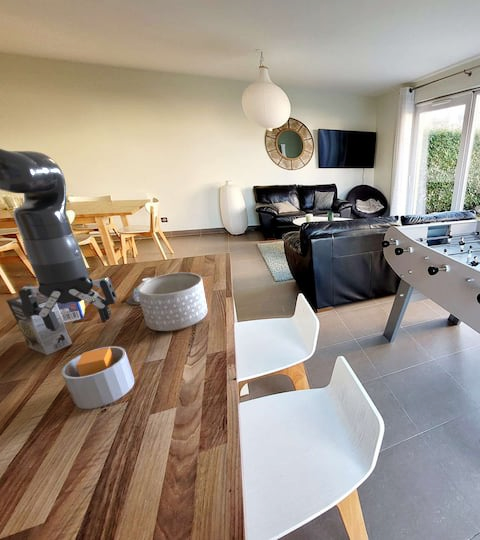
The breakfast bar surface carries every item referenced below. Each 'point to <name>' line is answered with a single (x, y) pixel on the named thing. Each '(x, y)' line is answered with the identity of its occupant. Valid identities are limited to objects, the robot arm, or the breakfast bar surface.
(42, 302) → the coffee box
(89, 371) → the juice carton
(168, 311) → the planter
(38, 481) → the breakfast bar surface
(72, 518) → the breakfast bar surface
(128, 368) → the ceramic bowl
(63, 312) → the beverage box
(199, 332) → the breakfast bar surface
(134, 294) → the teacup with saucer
